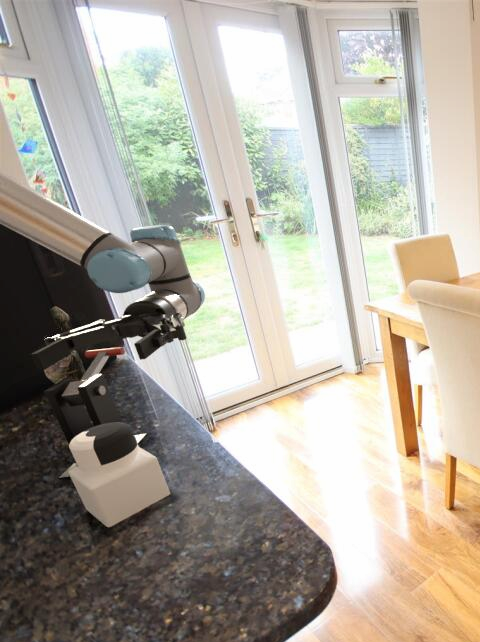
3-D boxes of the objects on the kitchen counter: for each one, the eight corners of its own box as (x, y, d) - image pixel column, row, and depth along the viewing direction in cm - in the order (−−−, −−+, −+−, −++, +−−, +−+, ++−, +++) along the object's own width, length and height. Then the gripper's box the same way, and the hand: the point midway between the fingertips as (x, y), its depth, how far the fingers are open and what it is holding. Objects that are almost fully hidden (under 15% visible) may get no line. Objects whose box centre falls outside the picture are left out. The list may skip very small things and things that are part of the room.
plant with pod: (104, 388, 96) (66, 296, 88) (111, 407, 88) (70, 307, 81) (51, 403, 90) (6, 306, 83) (54, 424, 83) (5, 319, 75)
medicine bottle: (149, 483, 66) (119, 411, 62) (173, 499, 63) (144, 424, 58) (88, 514, 61) (50, 437, 56) (111, 534, 57) (73, 454, 53)
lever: (92, 357, 75) (84, 346, 73) (127, 353, 76) (120, 342, 74) (59, 408, 67) (49, 397, 65) (99, 403, 68) (89, 392, 66)
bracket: (101, 446, 76) (68, 371, 71) (149, 439, 77) (120, 365, 72) (61, 485, 67) (20, 402, 62) (116, 477, 68) (80, 394, 63)
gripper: (230, 325, 94) (187, 368, 74) (89, 339, 89) (3, 389, 69) (220, 289, 91) (172, 324, 71) (74, 302, 86) (-20, 343, 67)
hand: (89, 356), depth 70 cm, fingers open, 13 cm apart
